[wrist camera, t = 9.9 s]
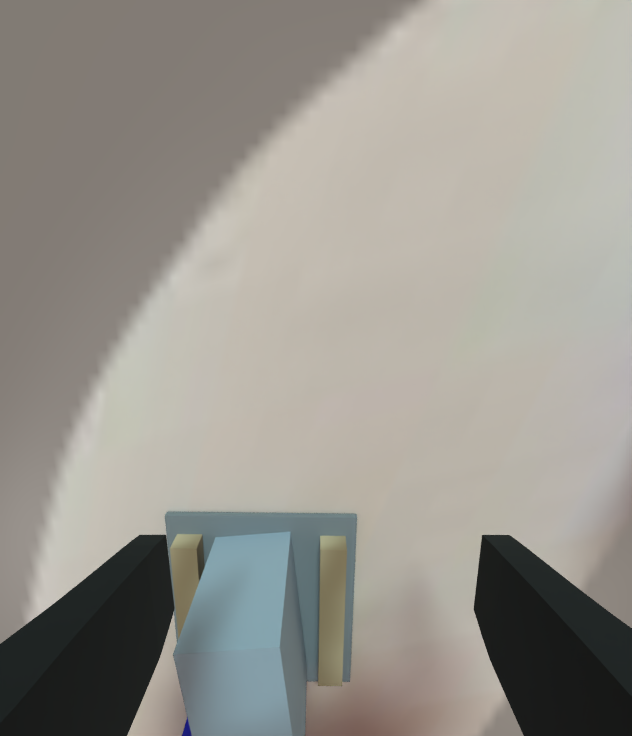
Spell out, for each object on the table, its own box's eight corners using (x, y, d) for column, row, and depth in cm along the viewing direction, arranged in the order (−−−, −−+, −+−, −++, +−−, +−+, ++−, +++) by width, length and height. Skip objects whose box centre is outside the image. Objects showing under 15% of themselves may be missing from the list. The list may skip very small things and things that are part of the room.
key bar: (307, 662, 22) (303, 811, 16) (238, 667, 22) (210, 817, 16) (290, 531, 20) (279, 646, 14) (215, 537, 20) (173, 654, 14)
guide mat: (356, 513, 20) (356, 517, 19) (349, 676, 22) (350, 681, 22) (167, 511, 20) (164, 515, 19) (182, 674, 22) (180, 679, 22)
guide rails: (345, 535, 20) (346, 550, 19) (341, 666, 22) (342, 686, 21) (177, 534, 20) (169, 548, 19) (188, 665, 22) (182, 684, 21)
